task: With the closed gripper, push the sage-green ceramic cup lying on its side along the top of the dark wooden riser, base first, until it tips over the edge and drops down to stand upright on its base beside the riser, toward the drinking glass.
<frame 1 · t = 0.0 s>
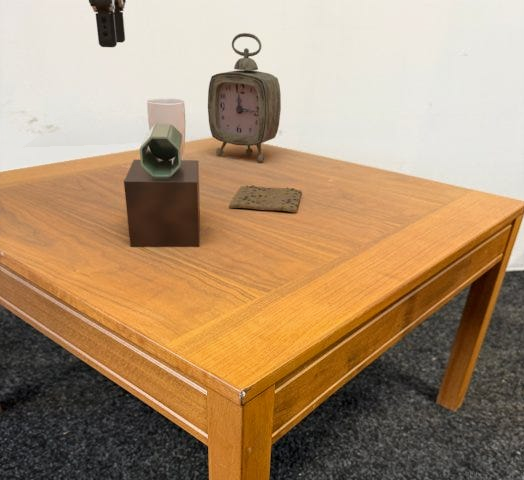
hand: (113, 44, 75), 25 cm above the table, tool pointing down, fingers open, 8 cm apart
drinking glass: (170, 185, 107), on the table
tabletop clock: (245, 157, 128), on the table
riser: (167, 232, 86), on the table
cookie: (266, 201, 100), on the table
cup: (163, 169, 81), point 9 cm above the table, touching riser
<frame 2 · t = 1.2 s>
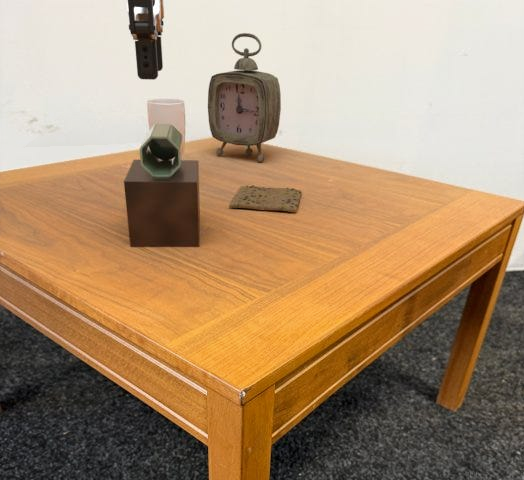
hand: (151, 74, 65), 23 cm above the table, tool pointing down, fingers open, 7 cm apart
nothing on the table moved.
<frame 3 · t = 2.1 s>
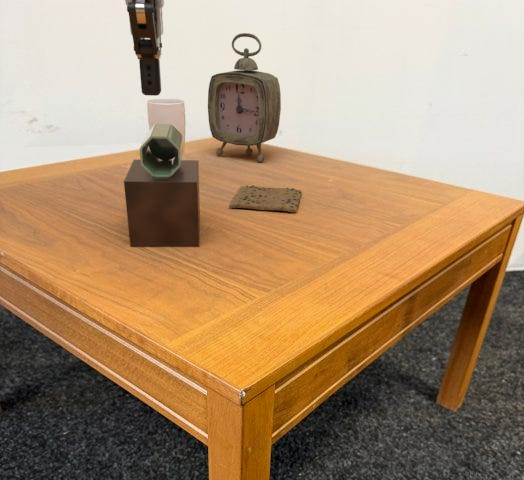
hand: (151, 94, 66), 21 cm above the table, tool pointing down, fingers closed
nothing on the table moved.
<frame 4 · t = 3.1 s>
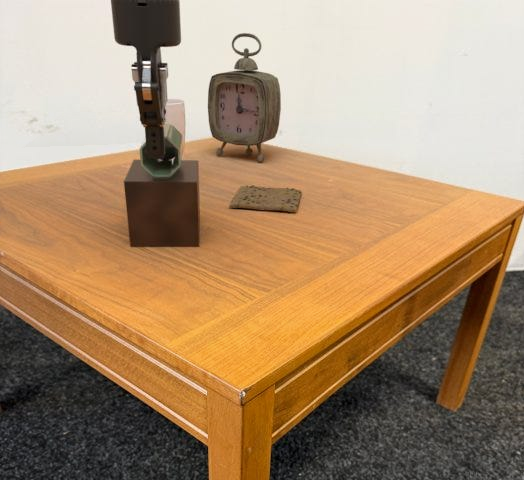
hand: (156, 157, 70), 14 cm above the table, tool pointing down, fingers closed
nothing on the table moved.
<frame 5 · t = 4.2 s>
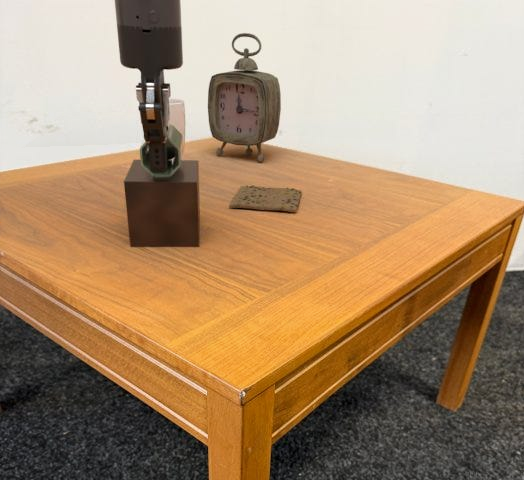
hand: (159, 171, 74), 11 cm above the table, tool pointing down, fingers closed
cup: (163, 169, 81), point 10 cm above the table, touching gripper
everything else where it was.
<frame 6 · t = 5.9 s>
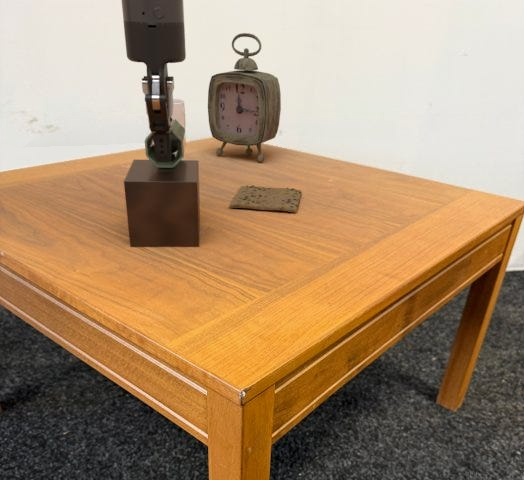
hand: (163, 160, 78), 11 cm above the table, tool pointing down, fingers closed
cup: (167, 161, 85), point 10 cm above the table, touching gripper, riser
everything else where it was.
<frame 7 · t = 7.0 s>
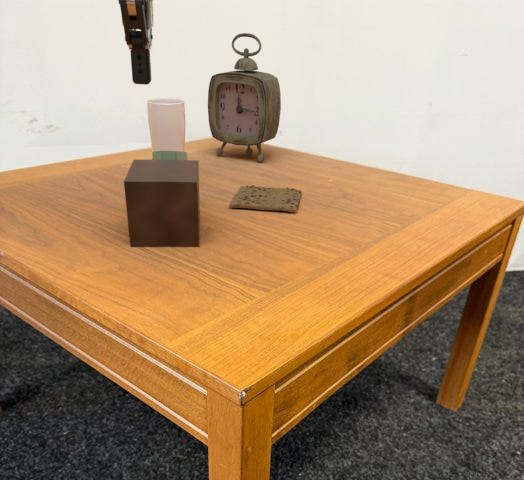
hand: (142, 83, 69), 22 cm above the table, tool pointing down, fingers closed
cup: (169, 180, 88), point 6 cm above the table, tilted 108°, touching riser
everything else where it was.
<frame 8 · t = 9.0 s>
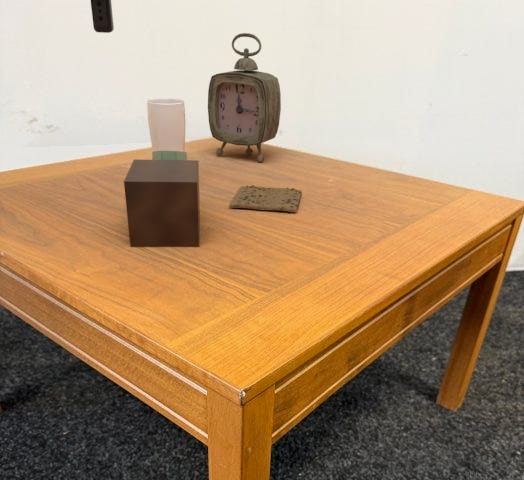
hand: (104, 32, 68), 27 cm above the table, tool pointing down, fingers closed
nothing on the table moved.
at the end: cup tilted 108°; cup inside the target area (2.1 cm from its centre), point 6.0 cm above the table; cup 18.7 cm from the drinking glass (horizontally) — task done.
